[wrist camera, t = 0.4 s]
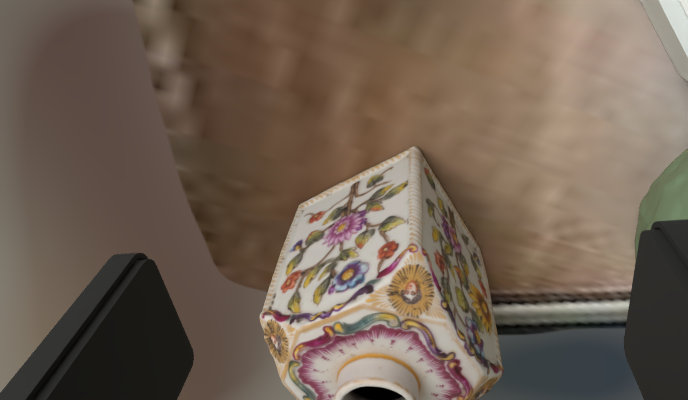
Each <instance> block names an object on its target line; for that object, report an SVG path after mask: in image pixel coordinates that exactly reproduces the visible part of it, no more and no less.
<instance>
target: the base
mask: <svg viewBox="0 0 688 400" xmlns="http://www.w3.org/2000/svg"><path fill="white" fill-rule="evenodd" d="M640 2H641V4H642V6H643V8H644V9H645V11H646V13H647V15H648V17H649V19H650V21H651V23H652V25H653V27H654V28H655V30H656V32H657V34H658V36H659V38H660V40H661V42H662V44H663V46H664V47H665V49H666V51H667V53H668V55H669V57H670V59H671V61H672V63H673V65H674V66H675V68H676V70H677V72H678V74H679V75H680V76H681V77H683V78H684V79H685V80H687V81H688V0H640Z"/></svg>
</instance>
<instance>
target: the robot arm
mask: <svg viewBox="0 0 688 400" xmlns="http://www.w3.org/2000/svg"><path fill="white" fill-rule="evenodd" d="M624 349H625V354H626V358H627V361H628V363H629V366H630V368H631V370H632V372H633V375H634V377H635V379H636V382H637V384H638V386H639V389H640V391H641V393H642V396H643V398H644V400H688V219H684V220H668V221H656V222H654V223H653V224H652V226H651V229H650V230H644V231H642V232H641V234H640V238H639V245H638V251H637V258H636V264H635V271H634V277H633V284H632V291H631V297H630V304H629V310H628V317H627V323H626V330H625V336H624ZM193 360H194V354H193V349H192V347H191V344H190V342H189V340H188V337H187V335H186V333H185V331H184V328H183V326H182V324H181V321H180V319H179V317H178V314H177V312H176V310H175V307H174V305H173V303H172V300H171V298H170V296H169V293H168V291H167V289H166V286H165V284H164V282H163V280H162V277H161V275H160V273H159V270H158V268H157V266H156V264H155V262H154V261H153V260H151V259H148V258H147V256H146V255H145V254H143V253H130V254H116V255H113V256H112V257H111V258H110V259H109V260H108V261H107V262H106V264H105V265H104V266H103V267H102V269H101V270H100V271H99V272H98V274H97V275H96V276H95V277H94V279H93V280H92V281H91V282H90V284H89V285H88V286H87V287H86V288H85V289H84V291H83V292H82V293H81V294H80V296H79V297H78V298H77V299H76V301H75V302H74V303H73V304H72V306H71V307H70V308H69V309H68V311H67V312H66V313H65V314H64V315H63V317H62V318H61V319H60V321H59V322H58V323H57V324H56V325H55V326H54V328H53V329H52V330H51V332H50V333H49V334H48V335H47V336H46V337H45V339H44V340H43V341H42V343H41V344H40V345H39V346H38V347H37V349H36V350H35V351H34V352H33V354H32V355H31V356H30V357H29V358H28V360H27V361H26V362H25V363H24V365H23V366H22V367H21V368H20V369H19V371H18V372H17V373H16V374H15V376H14V377H13V378H12V379H11V381H10V382H9V383H8V384H7V385H6V387H5V388H4V389H3V390H2V392H1V393H0V400H177V398H178V396H179V394H180V392H181V390H182V387H183V385H184V383H185V381H186V379H187V377H188V374H189V372H190V370H191V368H192V365H193Z"/></svg>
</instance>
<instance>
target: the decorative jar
mask: <svg viewBox="0 0 688 400" xmlns="http://www.w3.org/2000/svg"><path fill="white" fill-rule="evenodd" d="M260 322H261V325H262V327H263V330H264V338H265V341H266V342H267V344H268V346H269V349H270V352H271V354H272V355H273V357H274V360H275V363H276V366H277V369H278V372H279V374H280V378H281V381H282V383H283V384H284V385H285V387H286V388H287V389H288V390H289V391H290V392H291V393H292V394H293V395H294V396H295V398H296V399H297V400H478V399H479V398H480V397H482V396H483V395H484V394H485V393H487V392H488V391H490V389H491V388H492V387H493V385H494V384H495V383H496V382H497V381H498V380H499V379H500V377H501V376H502V374H503V371H504V370H503V367H502V361H501V355H500V348H499V341H498V335H497V329H496V324H495V319H494V313H493V309H492V302H491V296H490V290H489V284H488V278H487V274H486V270H485V266H484V262H483V258H482V253H481V250H480V248H479V246H478V245H477V243H476V241H475V240H474V238H473V236H472V235H471V233H470V232H469V230H468V228H467V227H466V225H465V223H464V222H463V220H462V218H461V217H460V215H459V214H458V212H457V210H456V209H455V207H454V205H453V203H452V202H451V200H450V198H449V197H448V195H447V194H446V192H445V190H444V189H443V187H442V185H441V184H440V182H439V181H438V179H437V178H436V176H435V175H434V173H433V171H432V170H431V168H430V167H429V165H428V163H427V161H426V160H425V158H424V157H423V155H422V153H421V151H420V150H419V149H418V148H417V147H416V146H413V147H411V148H410V149H408V150H406V151H404V152H402V153H400V154H398V155H397V156H394V157H392V158H390V159H388V160H386V161H384V162H382V163H380V164H378V165H376V166H374V167H372V168H370V169H368V170H366V171H364V172H362V173H360V174H358V175H356V176H354V177H352V178H350V179H348V180H346V181H344V182H342V183H339V184H337V185H336V186H334V187H332V188H330V189H328V190H326V191H324V192H322V193H320V194H319V195H317V196H315V197H313V198H311V199H309V200H307V201H305V202H303V203H301V204H300V205H299V207H298V210H297V212H296V215H295V217H294V220H293V222H292V225H291V227H290V230H289V232H288V235H287V238H286V240H285V243H284V246H283V248H282V251H281V253H280V257H279V260H278V263H277V266H276V269H275V272H274V274H273V277H272V281H271V284H270V287H269V290H268V294H267V298H266V301H265V304H264V307H263V311H262V313H261V314H260Z"/></svg>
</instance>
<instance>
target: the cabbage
mask: <svg viewBox="0 0 688 400" xmlns="http://www.w3.org/2000/svg"><path fill="white" fill-rule="evenodd" d="M684 219H688V149H687V150H686V151H684V152H683V153H682V154H681V155H680V156H679V157H677V158H676V159H675V160H674V161H673V162H672V163H671V164H670V165H669V166H668V167H667V168H666V169H665V171H664V172H663V173H662V174H661V175H660V176H659V177H658V178H657V179H656V180H655V181H654V182H653V184H652V185H651V187H650V190H649V192H648V193H647V195H646V196H645V197H644V198H643V200H642V201H641V203H640V208H639V217H638V225H637V230H636V236H635V256H636V258H637V251H638V245H639V238H640V234H641V232H642V231H644V230H650V229H651V226H652V224H653V223H654V222H656V221H668V220H684Z"/></svg>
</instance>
